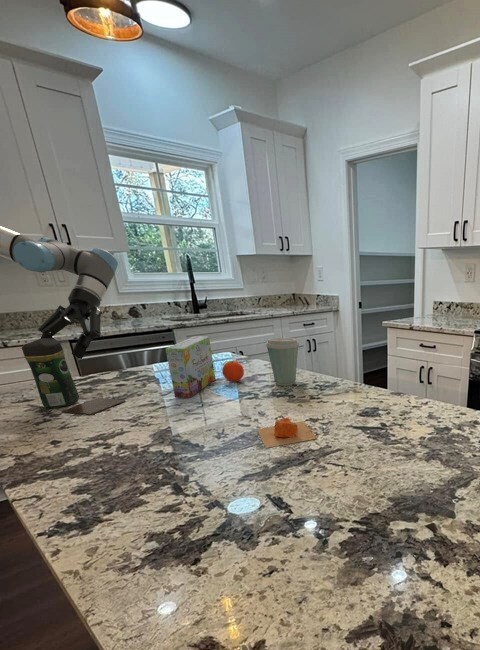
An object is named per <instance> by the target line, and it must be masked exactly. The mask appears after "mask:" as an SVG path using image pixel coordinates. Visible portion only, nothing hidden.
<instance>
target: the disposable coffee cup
mask: <svg viewBox="0 0 480 650" xmlns="http://www.w3.org/2000/svg"><path fill="white" fill-rule="evenodd" d="M299 343H300V342H299V341H298V340H297V338H291V337H275V338H274V337H273V338H268V339H267V341H266V342H265V347H266V349H267V354H268V358H269V361H270V365H271V370H272V374H273V378H274V382H275V384H276V385H278V386H283V387H285V386H292V385H294V384H295V383H296V380H297V379H296V378H297V367H298V355H299V354H298V353H299V346H300V344H299Z"/></svg>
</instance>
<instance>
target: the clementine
mask: <svg viewBox="0 0 480 650" xmlns="http://www.w3.org/2000/svg"><path fill="white" fill-rule="evenodd" d="M221 370H222V376H223V377H224V378H225V379H226V380H227V381H229V382H232V383H235V382H238V381H241V380H242V378H243V377H244V374H245V369H244V366H243V365H242V364H241V363H239V362H238V361H236V360H228V361H225V362H223V363H222V369H221Z"/></svg>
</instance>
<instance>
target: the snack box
mask: <svg viewBox="0 0 480 650" xmlns="http://www.w3.org/2000/svg"><path fill="white" fill-rule="evenodd" d="M211 347H212V346H211V341H210V336H209V335H208V336H206V335H200V336H198V335H195V336H191V337H189V338H187V339H185V340H182V341H180V342H178V343H176V344H172V345H171V346H168V347H166V348H165V354H166V359H167V364H168V369H169V374H170V379H171V383H172V384H171V385H172V389H173V395H174V398H185V399H186V398H189V399H190V398H193V397H194V396H195V395H197V394H198V393H199V392H200V391H202V390H203V389H204V388H206V387H207V386H209V385H210V384H212V383H213V382H214V381H215V380H216V379H217V378H216V373H215V367H214V361H213V353H212V348H211Z"/></svg>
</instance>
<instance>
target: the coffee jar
mask: <svg viewBox="0 0 480 650" xmlns="http://www.w3.org/2000/svg"><path fill="white" fill-rule="evenodd" d="M21 350H22V354H23V357H24V359H25V360H26V362H27V364H28V367H29V368H30V370H31V373H32V377H33V379H34V383H35V385H36V388H37V391H38V395H39V398H40V401H41V404H42V406H43V407H44V408H49V409H58V408H59V409H60V408H62V407H66V406H67V407H68V406H70V405H72V404H74V403H76V402H77V401H78V400H79V399H80V394H79V391H78V388H77V387H76V383H75V382H74V379H73V376H72V373H71V371H70V369H69V366H68V363H67V360H66V356H65V351H64V348H63V346H62V344H61V342H60V341H59V340H58V339H56V338H55V337H54V338H46V339H40V338H38V339H36V340H33V341H30V342H27V343H24V345H22V346H21Z"/></svg>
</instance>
